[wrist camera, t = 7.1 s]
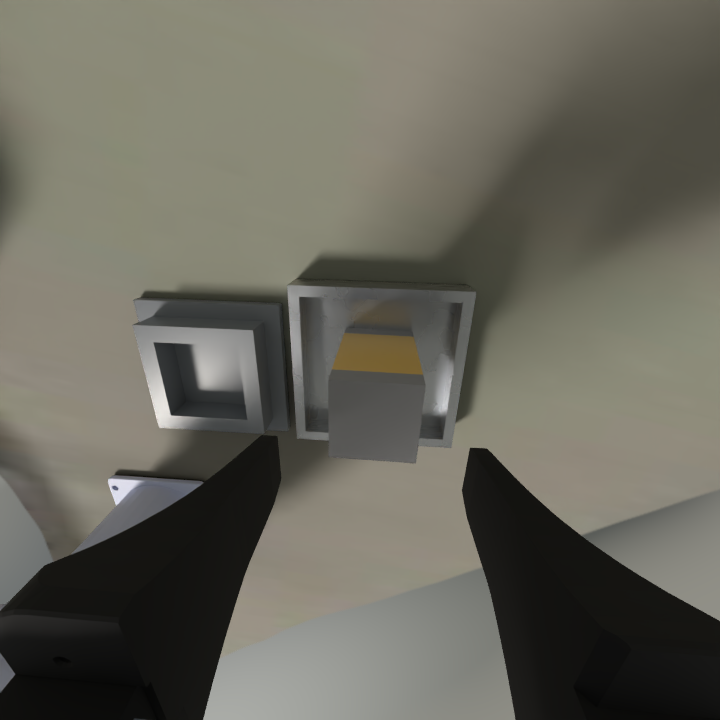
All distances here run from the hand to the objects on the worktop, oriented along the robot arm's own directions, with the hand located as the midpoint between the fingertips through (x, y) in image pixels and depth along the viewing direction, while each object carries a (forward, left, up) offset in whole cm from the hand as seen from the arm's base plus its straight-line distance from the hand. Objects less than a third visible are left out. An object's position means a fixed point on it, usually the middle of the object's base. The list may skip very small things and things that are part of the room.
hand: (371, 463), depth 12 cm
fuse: (0, 0, -9) cm, 9 cm away
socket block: (-1, +10, -10) cm, 14 cm away
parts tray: (0, 0, -10) cm, 10 cm away
